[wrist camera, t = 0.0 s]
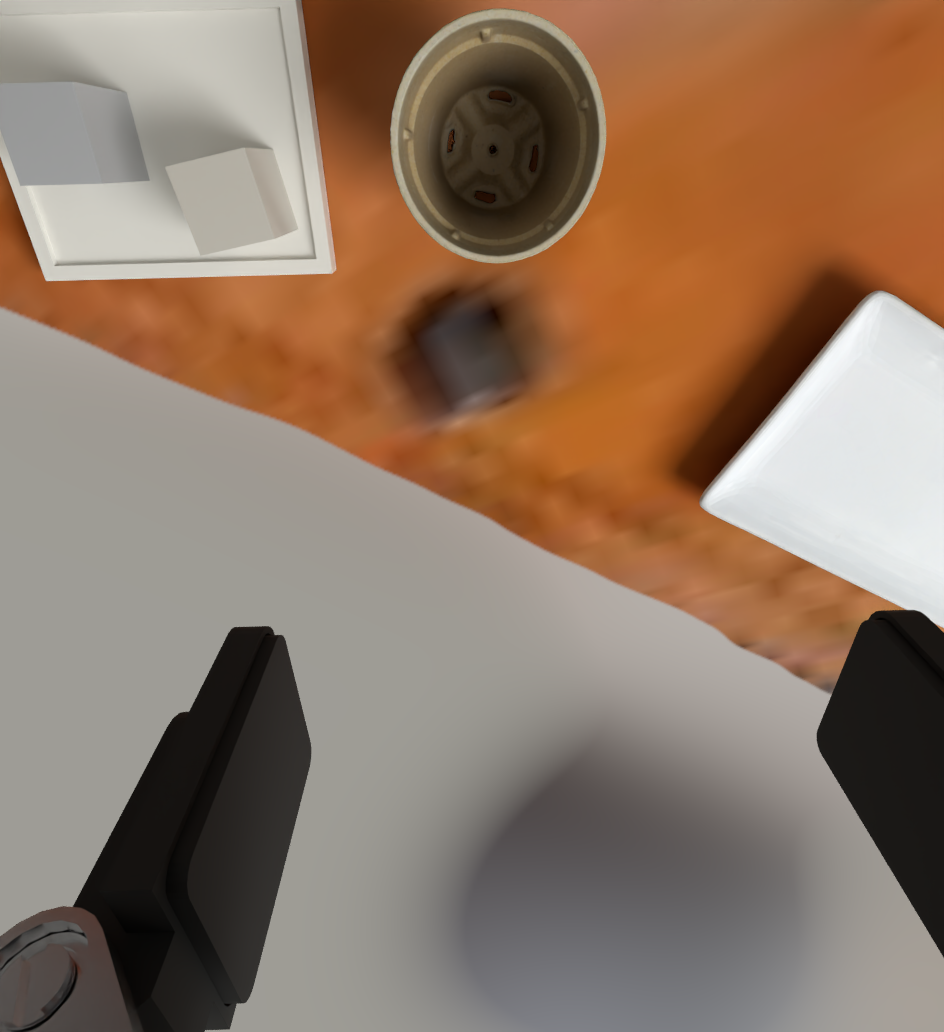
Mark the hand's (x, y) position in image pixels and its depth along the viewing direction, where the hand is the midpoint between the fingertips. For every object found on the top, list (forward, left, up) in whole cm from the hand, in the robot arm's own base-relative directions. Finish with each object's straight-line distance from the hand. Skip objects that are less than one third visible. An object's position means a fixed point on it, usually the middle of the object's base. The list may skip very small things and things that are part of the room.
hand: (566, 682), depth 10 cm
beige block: (-6, -13, -31) cm, 34 cm away
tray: (+14, +32, -33) cm, 48 cm away
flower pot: (-8, 0, -32) cm, 33 cm away
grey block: (-9, -21, -31) cm, 39 cm away
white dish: (-8, -18, -32) cm, 38 cm away
